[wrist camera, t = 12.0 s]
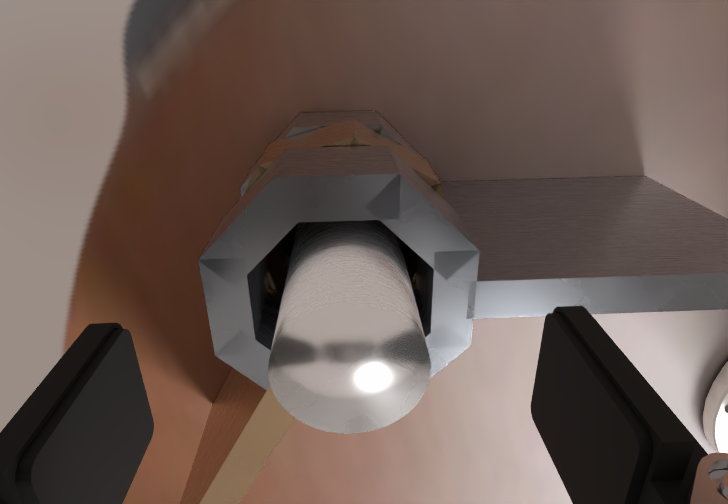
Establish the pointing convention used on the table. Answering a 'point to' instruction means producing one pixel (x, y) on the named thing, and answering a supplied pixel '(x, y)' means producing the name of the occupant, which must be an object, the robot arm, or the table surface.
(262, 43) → the table surface
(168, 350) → the table surface
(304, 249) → the hinge pin
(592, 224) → the fixed hinge leaf
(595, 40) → the table surface
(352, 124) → the bronze hinge leaf
